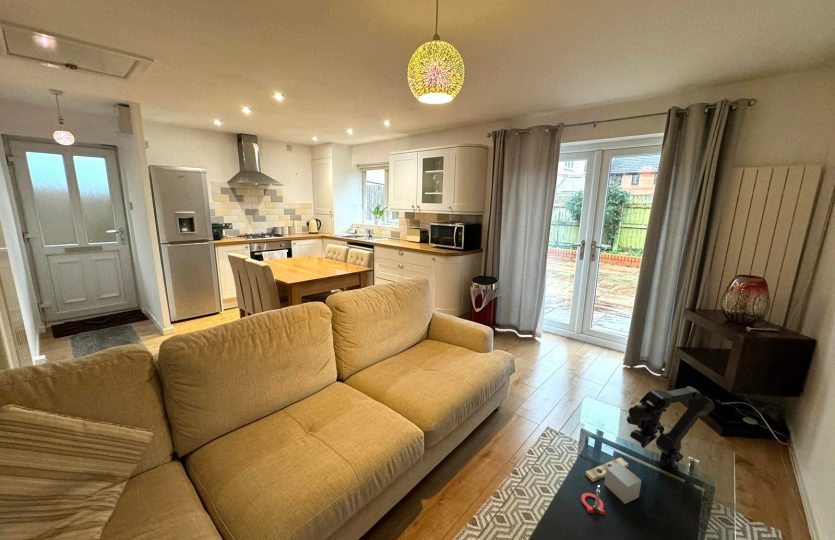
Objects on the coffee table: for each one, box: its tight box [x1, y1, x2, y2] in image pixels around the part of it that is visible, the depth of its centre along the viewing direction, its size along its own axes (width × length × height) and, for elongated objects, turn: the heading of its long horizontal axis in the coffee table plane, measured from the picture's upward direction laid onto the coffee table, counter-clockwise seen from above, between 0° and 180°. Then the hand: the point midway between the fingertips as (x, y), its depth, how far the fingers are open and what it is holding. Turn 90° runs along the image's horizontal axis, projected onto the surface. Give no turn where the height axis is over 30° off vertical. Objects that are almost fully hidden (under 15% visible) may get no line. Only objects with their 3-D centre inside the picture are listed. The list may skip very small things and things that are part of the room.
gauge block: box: [603, 463, 642, 505], centre depth 141 cm, size 8×10×9 cm
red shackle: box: [580, 485, 606, 515], centre depth 135 cm, size 8×13×9 cm
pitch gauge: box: [585, 457, 629, 482], centre depth 152 cm, size 22×4×2 cm, turn 110°
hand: (642, 447), depth 150 cm, fingers closed
